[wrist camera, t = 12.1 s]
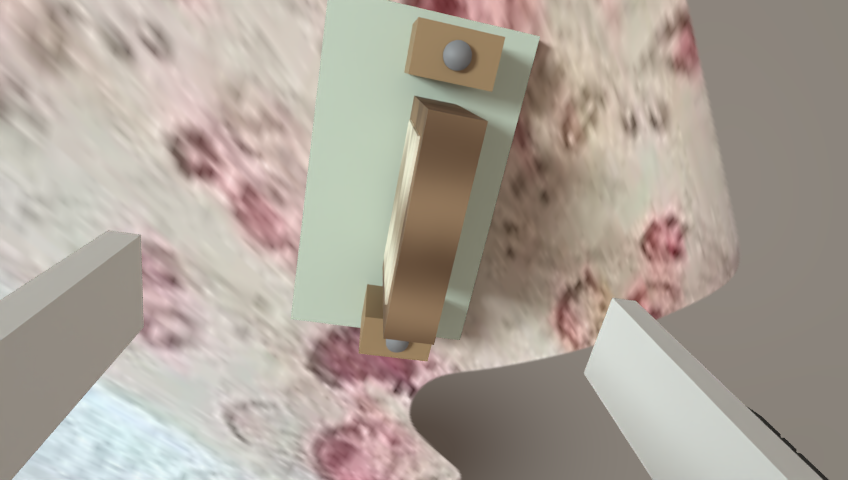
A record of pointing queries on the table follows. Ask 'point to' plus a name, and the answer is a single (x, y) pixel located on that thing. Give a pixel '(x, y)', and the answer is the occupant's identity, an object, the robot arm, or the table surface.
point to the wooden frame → (428, 216)
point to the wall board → (396, 153)
